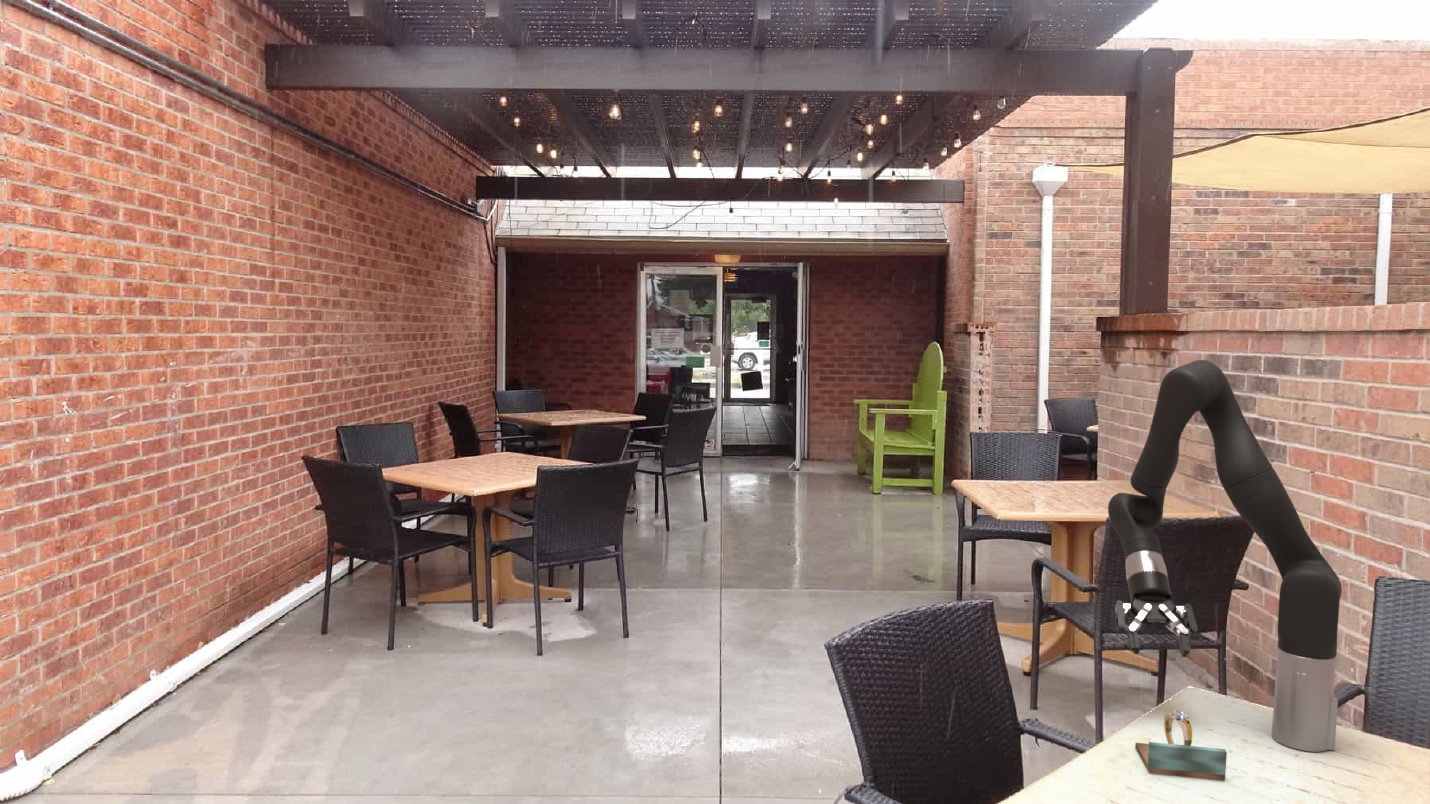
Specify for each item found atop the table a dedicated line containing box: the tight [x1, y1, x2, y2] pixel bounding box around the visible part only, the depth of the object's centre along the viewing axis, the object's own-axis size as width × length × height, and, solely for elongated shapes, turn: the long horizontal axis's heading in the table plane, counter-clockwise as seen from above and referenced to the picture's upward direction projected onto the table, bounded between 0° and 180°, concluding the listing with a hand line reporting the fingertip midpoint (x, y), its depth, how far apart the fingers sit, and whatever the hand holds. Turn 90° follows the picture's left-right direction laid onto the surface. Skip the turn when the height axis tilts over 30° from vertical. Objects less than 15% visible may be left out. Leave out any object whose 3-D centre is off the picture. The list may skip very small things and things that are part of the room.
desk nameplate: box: [1135, 741, 1228, 782], centre depth 168 cm, size 12×10×5 cm
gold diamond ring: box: [1163, 708, 1193, 746], centre depth 169 cm, size 7×3×8 cm, turn 179°
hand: (1161, 653), depth 182 cm, fingers open, 8 cm apart
